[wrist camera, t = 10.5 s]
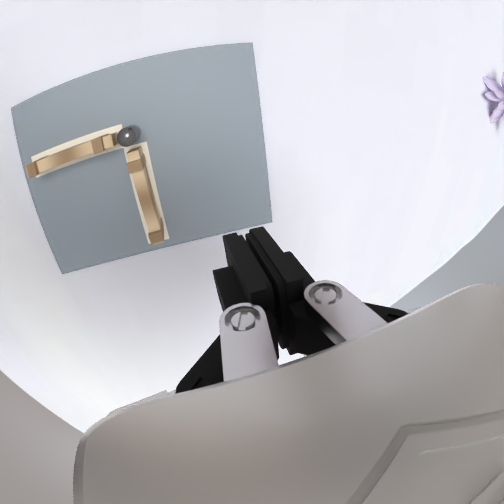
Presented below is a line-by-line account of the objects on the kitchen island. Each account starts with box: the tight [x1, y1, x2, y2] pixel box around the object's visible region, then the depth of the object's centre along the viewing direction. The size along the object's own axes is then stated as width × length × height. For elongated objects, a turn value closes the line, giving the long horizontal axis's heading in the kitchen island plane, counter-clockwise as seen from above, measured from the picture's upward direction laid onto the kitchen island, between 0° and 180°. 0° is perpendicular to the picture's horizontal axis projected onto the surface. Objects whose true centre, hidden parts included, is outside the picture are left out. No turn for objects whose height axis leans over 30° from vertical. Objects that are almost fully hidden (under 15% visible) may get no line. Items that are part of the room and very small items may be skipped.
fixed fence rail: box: [25, 132, 118, 179], centre depth 23 cm, size 10×1×4 cm, turn 99°
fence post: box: [117, 125, 141, 147], centre depth 25 cm, size 2×2×6 cm
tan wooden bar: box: [126, 146, 164, 245], centre depth 28 cm, size 10×1×4 cm, turn 11°
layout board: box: [11, 43, 272, 274], centre depth 28 cm, size 28×22×1 cm
